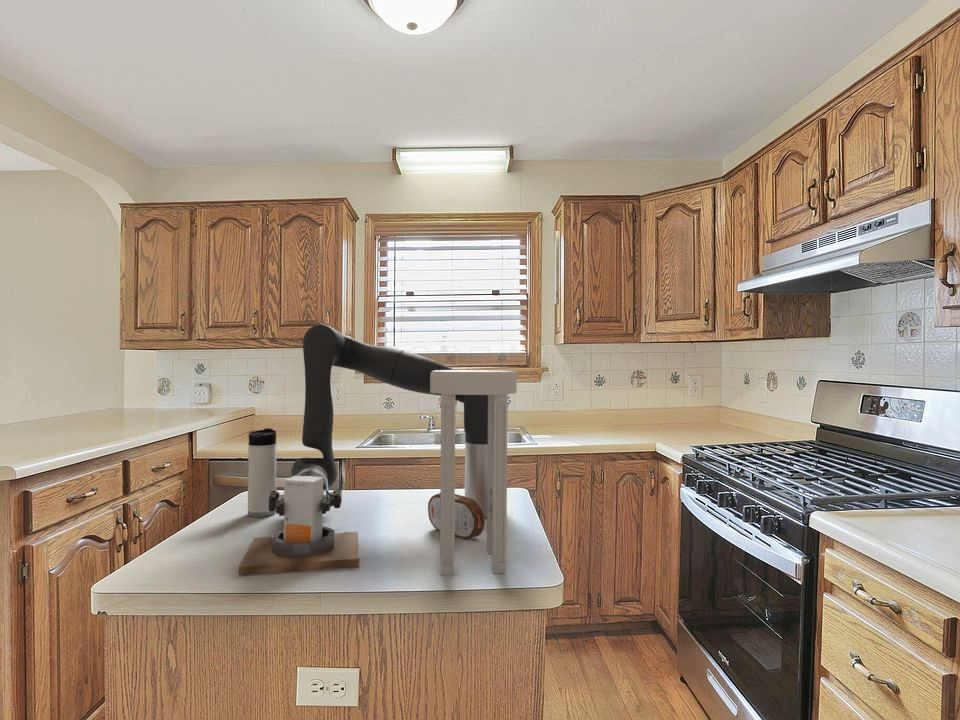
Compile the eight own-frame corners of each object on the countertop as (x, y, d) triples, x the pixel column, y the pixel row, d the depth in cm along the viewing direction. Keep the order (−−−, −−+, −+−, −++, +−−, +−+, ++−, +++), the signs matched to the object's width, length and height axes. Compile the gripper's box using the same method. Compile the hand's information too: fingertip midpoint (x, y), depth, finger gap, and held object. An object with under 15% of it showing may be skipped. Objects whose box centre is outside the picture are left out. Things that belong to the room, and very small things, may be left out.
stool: (428, 580, 93) (430, 371, 93) (429, 549, 108) (430, 369, 109) (519, 577, 94) (521, 371, 94) (507, 547, 110) (509, 370, 110)
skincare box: (282, 544, 103) (283, 479, 103) (293, 536, 107) (294, 474, 107) (313, 546, 102) (313, 481, 102) (323, 539, 106) (324, 476, 106)
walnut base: (357, 538, 114) (357, 531, 114) (359, 566, 99) (359, 558, 99) (254, 545, 110) (254, 537, 110) (238, 575, 94) (238, 566, 94)
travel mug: (281, 510, 136) (281, 428, 136) (268, 518, 129) (268, 431, 129) (256, 509, 136) (257, 428, 136) (242, 517, 130) (243, 431, 130)
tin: (485, 541, 114) (485, 499, 114) (474, 544, 112) (475, 502, 112) (435, 525, 124) (436, 488, 124) (425, 528, 122) (425, 490, 122)
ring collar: (335, 536, 111) (335, 524, 111) (333, 555, 100) (333, 541, 100) (276, 540, 108) (276, 527, 108) (268, 559, 98) (268, 545, 98)
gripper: (273, 472, 117) (261, 490, 100) (344, 469, 120) (343, 487, 104) (273, 507, 117) (261, 532, 101) (343, 504, 120) (342, 527, 104)
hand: (302, 509), depth 102 cm, fingers closed on skincare box, 7 cm apart
